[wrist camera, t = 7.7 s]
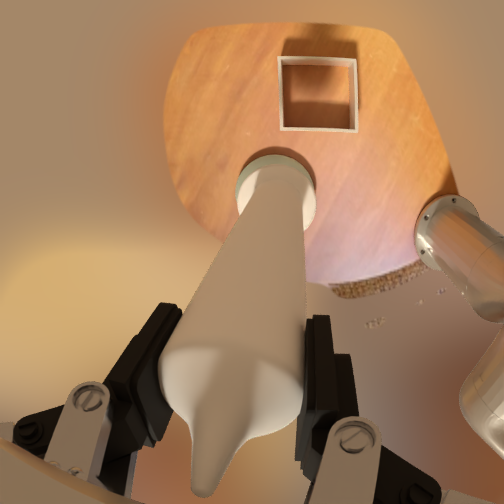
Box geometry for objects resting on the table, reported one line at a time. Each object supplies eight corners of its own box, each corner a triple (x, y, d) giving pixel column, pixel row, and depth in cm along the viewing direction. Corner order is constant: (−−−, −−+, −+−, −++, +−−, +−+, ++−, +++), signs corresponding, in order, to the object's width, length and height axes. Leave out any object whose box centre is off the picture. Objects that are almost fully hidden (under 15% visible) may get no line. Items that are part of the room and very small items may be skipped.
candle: (249, 154, 26) (24, 338, 4) (326, 177, 26) (436, 453, 4) (230, 226, 29) (86, 481, 7) (302, 247, 29) (292, 540, 7)
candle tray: (350, 64, 35) (356, 59, 31) (352, 131, 38) (358, 133, 35) (279, 62, 36) (277, 56, 32) (281, 129, 40) (280, 130, 36)
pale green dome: (327, 176, 42) (328, 178, 40) (291, 241, 46) (291, 244, 45) (256, 141, 41) (255, 141, 40) (225, 208, 45) (223, 210, 44)
